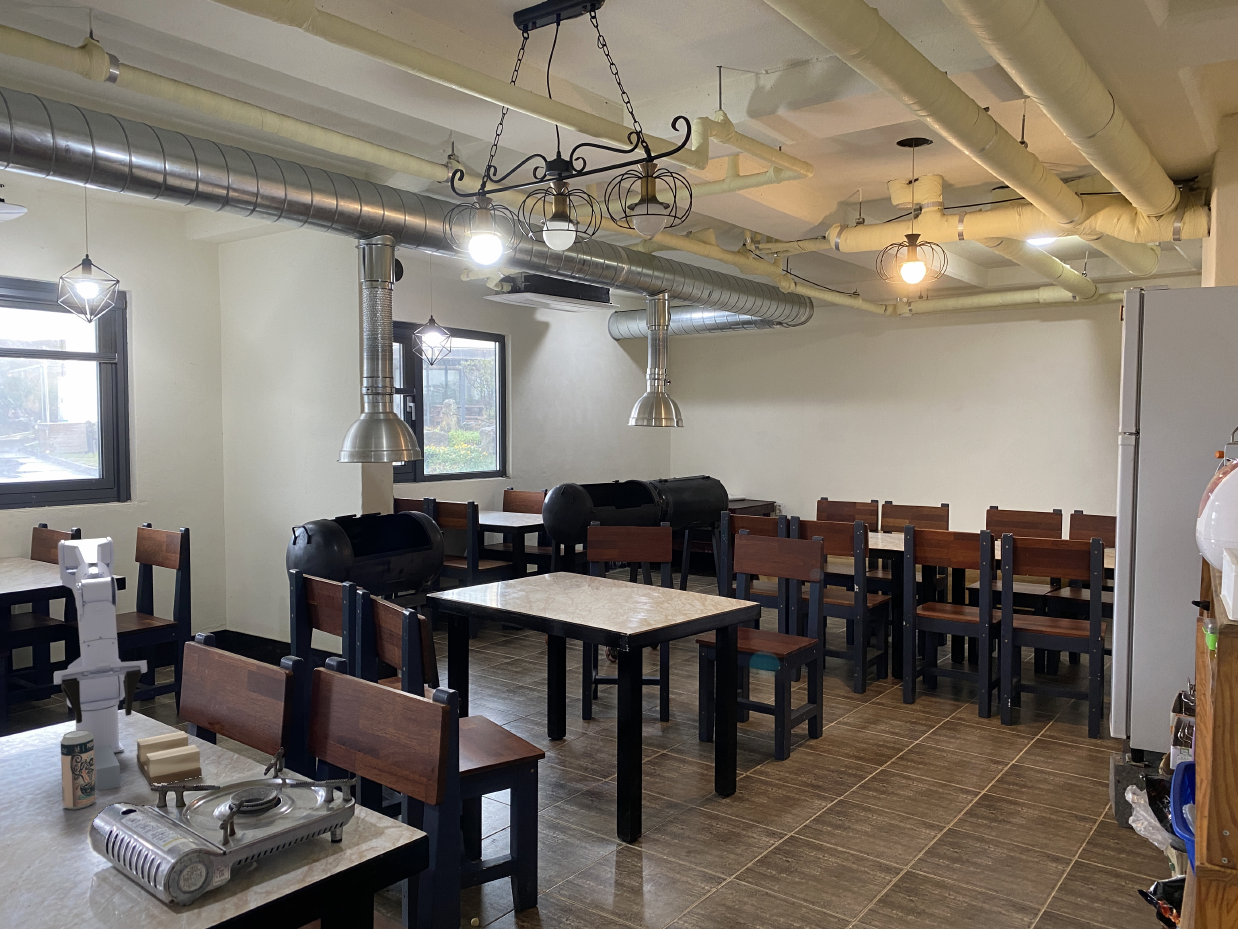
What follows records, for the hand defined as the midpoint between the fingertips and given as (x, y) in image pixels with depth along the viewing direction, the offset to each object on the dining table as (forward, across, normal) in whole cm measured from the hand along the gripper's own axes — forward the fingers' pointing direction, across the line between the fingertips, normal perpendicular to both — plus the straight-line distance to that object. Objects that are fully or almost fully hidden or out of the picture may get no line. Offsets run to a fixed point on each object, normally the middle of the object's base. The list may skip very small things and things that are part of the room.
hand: (104, 718), depth 164 cm
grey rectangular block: (+10, 0, +6) cm, 11 cm away
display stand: (+10, +10, +3) cm, 15 cm away
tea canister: (+14, -5, -5) cm, 16 cm away
